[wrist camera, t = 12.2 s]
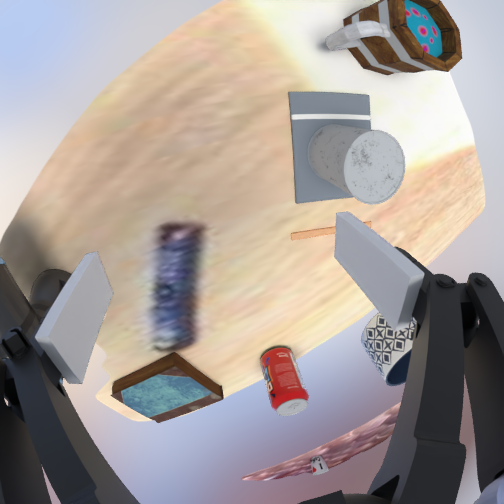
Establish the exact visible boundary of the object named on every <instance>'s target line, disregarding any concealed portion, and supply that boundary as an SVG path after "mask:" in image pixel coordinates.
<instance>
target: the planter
mask: <svg viewBox="0 0 504 504" xmlns="http://www.w3.org/2000/svg"><path fill="white" fill-rule="evenodd" d="M416 322H417V321H416V320H415V319H414V318H413V316H412V318H411V321H410V324H409V327H407V328H404V329H401V330H399V331H396V332H394V330H393V329H392V328H391V326H390V325H389V324H388V323H387V321H386V320H385V319H384V317H383V316H382V315H381V314H380V312H379V313H377V315H375V316H374V317H373V318H372V319H371V320H370V322H369V323H368V324H367V326H366V327H365V329H364V331H363V334H362V338H361V342H362V345H363V347H364V348H365V350H366V352H367V353H368V355H369V356H370V358H371V360H372V361H373V363H374V365H375V366H376V368H377V369H378V371H379V373H380V375H381V376H382V378H383V379H384V381H385V383H386V384H387V385H389V386H397V385H400V384H403V383H405V382H406V379H407V374H408V368H409V363H410V357H411V350H412V344H413V340H412V341H411V340H410V338H411V336H412V333H413V331H414V328H415V325H416Z"/></svg>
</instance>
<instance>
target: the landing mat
mask: <svg viewBox="0 0 504 504" xmlns="http://www.w3.org/2000/svg"><path fill="white" fill-rule="evenodd" d="M288 94H289V105H290V117H291V130H292V144H293V160H294V178H295V200H296V203H297V204H298V203H306V202H314V201H323V200H332V199H341V198H351V197H353V196H352V195H350V194H349V193H347V192H345V191H344V190H342V189H340V188H339V187H337V186H335V185H334V184H332V183H330V182H328V181H327V180H325V179H322V178H320V177H319V176H318V175H317V174H316V173H315V172H314V171H313V170H312V168H311V166H310V164H309V160H308V145H309V142H310V140H311V138H312V136H313V135H314V134H315V132H316V131H318V130H319V129H320V128H322V127H324V126H326V125H331V124H338V125H342V126H349V127H356V128H363V129H369V130H371V123H370V120H371V116H370V101H369V95H361V94H349V93H331V92H288Z"/></svg>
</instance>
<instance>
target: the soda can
mask: <svg viewBox="0 0 504 504" xmlns="http://www.w3.org/2000/svg"><path fill="white" fill-rule="evenodd" d="M260 363H261V368H262V372H263V376H264V379H265V383H266V387H267V391H268V395H269V399H270V403H271V406H272V408H273V409H274V410H275V411H276V412H277V414H279V415H282V416H289V415H294V414H297V413H299V412H301V411H303V410H304V409H305V408H306V407H307V405H308V402H307V401H308V398H309V395H308V393H307V390H306V387H305V384H304V382H303V379H302V377H301V374H300V371H299V368H298V366H297V363H296V360H295V357H294V355H293V353H292V351H291V350H289V349H287V348H274V349H271V350H269V351H267V352H266V353H265V354H264V355H263V356H262V358H261V360H260Z"/></svg>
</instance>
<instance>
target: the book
mask: <svg viewBox="0 0 504 504" xmlns="http://www.w3.org/2000/svg"><path fill="white" fill-rule="evenodd" d="M111 396H112V397H113V398H115V399H117V400H118V401H120V402H121V403H123V404H125V405H126V406H128V407H130V408H131V409H133V410H135V411H137V412H138V413H140V414H142V415H144V416H146V417H148V418H150V419H152V420H155V421H156V422H157V423H160V422H162V421H166V420H169V419H172V418H175V417H178V416H181V415H184V414H186V413H189V412H192V411H195V410H197V409H200V408H203V407H205V406H208V405H210V404H213V403H215V402H218V401H220V400H223V399H224V398H223V390H222V385H221V386H219V385H218V384H216V383H215V382H213V381H212V380H211V379H209V378H208V377H207V376H205V375H204V374H202V373H201V372H200V371H198V370H197V369H196V368H195V367H193V366H192V365H191V364H189V363H188V362H187V361H185V360H184V359H183V358H182V357H180V356H179V355H178V354H177V353H175V352H174V353H172V354H170V355H168V356H166V357H164V358H162V359H160V360H158V361H156V362H154V363H152V364H150V365H148V366H146V367H144V368H142V369H140V370H138V371H136V372H134V373H132V374H130V375H128V376H126V377H124V378H121V379H119V380H117V381H115V382H114V384H113V386H112V395H111Z"/></svg>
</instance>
